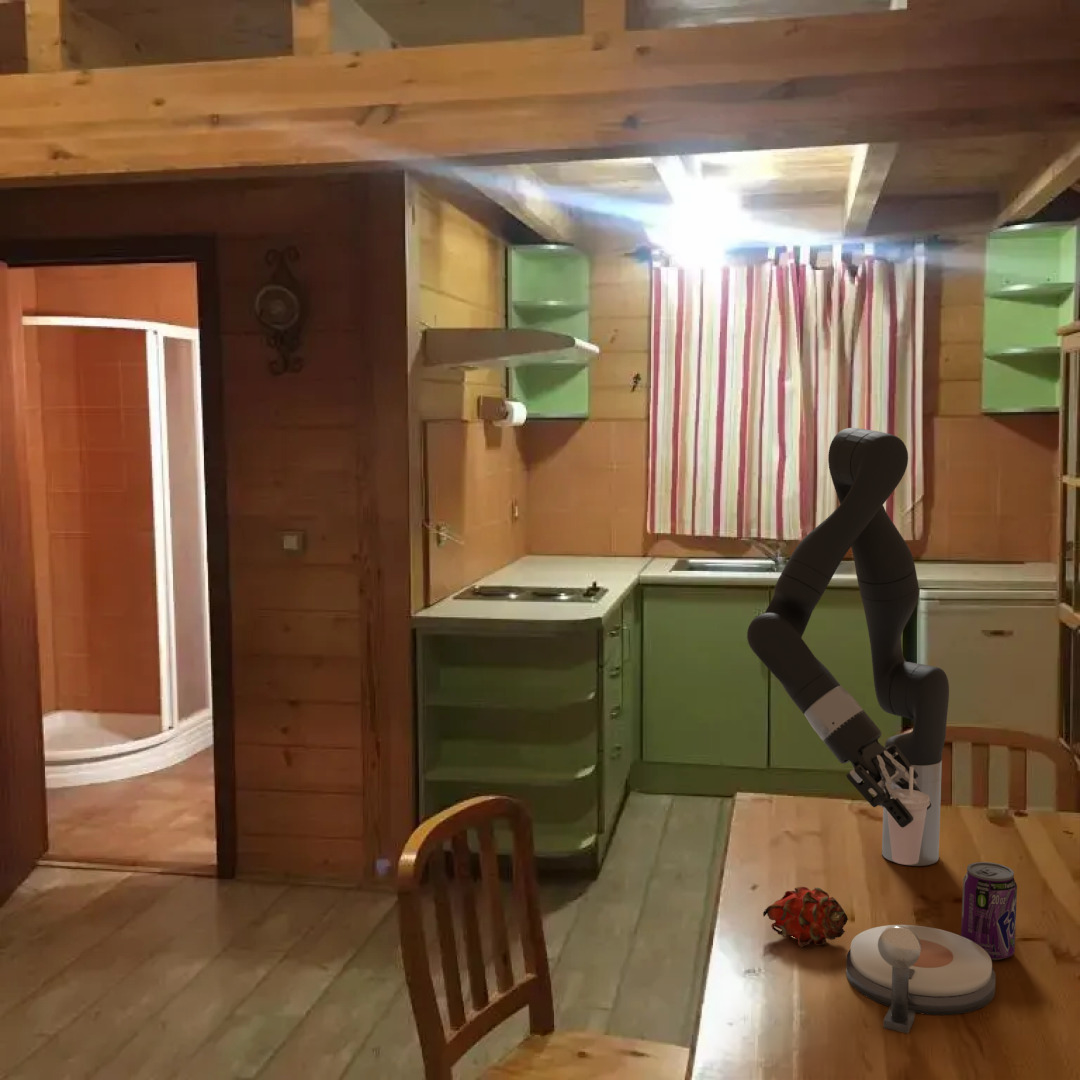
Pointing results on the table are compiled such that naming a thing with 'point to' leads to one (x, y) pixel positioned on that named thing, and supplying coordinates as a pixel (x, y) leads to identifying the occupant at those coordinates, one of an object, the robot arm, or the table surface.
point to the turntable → (927, 962)
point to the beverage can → (990, 908)
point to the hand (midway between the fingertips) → (917, 816)
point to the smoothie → (910, 836)
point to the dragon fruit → (807, 916)
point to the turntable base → (920, 1002)
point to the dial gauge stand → (899, 973)
